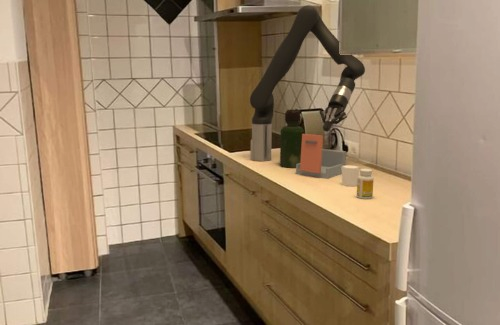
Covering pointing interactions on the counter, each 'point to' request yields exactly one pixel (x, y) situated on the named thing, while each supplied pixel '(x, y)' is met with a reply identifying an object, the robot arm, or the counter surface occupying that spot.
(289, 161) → the green water bottle
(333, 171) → the tray
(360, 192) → the supplement bottle
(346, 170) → the tan cylinder
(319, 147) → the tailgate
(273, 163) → the counter surface
